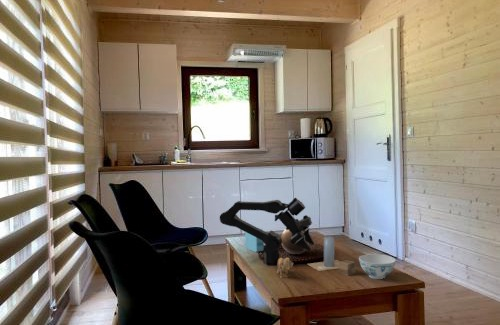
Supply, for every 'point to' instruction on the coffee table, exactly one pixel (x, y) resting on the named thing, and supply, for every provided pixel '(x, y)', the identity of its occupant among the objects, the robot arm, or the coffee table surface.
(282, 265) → the lion figurine
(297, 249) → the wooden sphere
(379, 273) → the chinaware
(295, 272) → the coffee table surface
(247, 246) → the data package
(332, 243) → the grey cylinder
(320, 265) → the envelope
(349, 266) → the walnut block
